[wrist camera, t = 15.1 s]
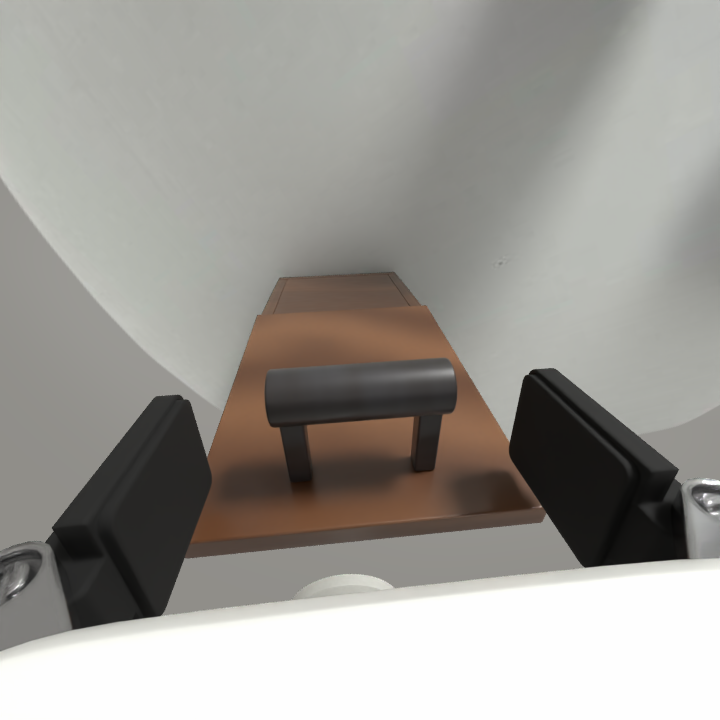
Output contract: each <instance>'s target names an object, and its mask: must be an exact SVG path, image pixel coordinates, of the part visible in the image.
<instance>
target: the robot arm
mask: <svg viewBox="0 0 720 720" xmlns="http://www.w3.org/2000/svg"><path fill="white" fill-rule="evenodd" d="M509 455H510V458H511V460H512V462H513V463H514V465H515V466H516V468H517V469H518V471H519V472H520V474H521V475H522V477H523V478H524V480H525V481H526V483H527V484H528V486H529V487H530V489H531V490H532V492H533V493H534V495H535V496H536V498H537V499H538V501H539V502H540V504H541V505H542V507H543V508H544V510H545V511H546V513H547V514H548V516H549V517H550V519H551V520H552V522H553V523H554V525H555V526H556V528H557V529H558V531H559V532H560V534H561V535H562V537H563V538H564V540H565V541H566V543H567V544H568V546H569V547H570V549H571V550H572V552H573V553H574V554H575V556H576V558H577V559H578V561H579V562H580V563H581V564H582V566H584V567H585V568H580V569H571V570H561V571H551V572H542V573H533V574H524V575H523V574H522V575H513V576H504V577H494V578H485V579H475V580H467V581H457V582H449V583H439V584H430V585H421V586H412V587H403V588H394V589H385V590H376V591H367V592H358V593H349V594H340V595H331V596H323V597H314V598H306V599H297V600H288V601H280V602H271V603H263V604H254V605H246V606H237V607H228V608H221V609H211V610H203V611H196V612H188V613H181V614H173V615H166V616H161V615H162V614H163V612H164V610H165V608H166V606H167V603H168V601H169V598H170V595H171V592H172V590H173V587H174V585H175V582H176V579H177V577H178V574H179V571H180V568H181V566H182V563H183V560H184V558H185V555H186V552H187V550H188V547H189V544H190V542H191V539H192V536H193V534H194V531H195V528H196V526H197V523H198V520H199V518H200V515H201V512H202V509H203V507H204V504H205V501H206V499H207V496H208V493H209V491H210V488H211V484H212V474H211V470H210V467H209V463H208V460H207V457H206V453H205V450H204V447H203V443H202V440H201V437H200V434H199V430H198V427H197V423H196V420H195V417H194V413H193V410H192V407H191V404H190V402H189V400H183V398H182V396H180V395H170V396H169V395H168V396H157V397H155V398H154V399H153V400H152V402H151V403H150V404H149V405H148V406H147V408H146V409H145V410H144V411H143V413H142V414H141V415H140V417H139V418H138V419H137V420H136V422H135V423H134V424H133V425H132V427H131V428H130V429H129V430H128V432H127V433H126V434H125V436H124V437H123V438H122V439H121V441H120V442H119V443H118V444H117V446H116V447H115V448H114V450H113V451H112V452H111V453H110V455H109V456H108V457H107V458H106V460H105V461H104V462H103V463H102V465H101V466H100V467H99V469H98V470H97V471H96V472H95V474H94V475H93V476H92V477H91V479H90V480H89V481H88V483H87V484H86V485H85V486H84V488H83V489H82V490H81V491H80V493H79V494H78V495H77V497H76V498H75V499H74V500H73V502H72V503H71V504H70V505H69V507H68V508H67V509H66V510H65V512H64V513H63V514H62V516H61V517H60V518H59V519H58V521H57V522H56V523H55V524H54V526H53V527H52V529H53V531H54V532H53V533H52V534H51V536H50V537H49V538H48V539H47V541H46V542H45V543H44V542H41V541H32V542H25V543H21V544H17V545H14V546H11V547H9V548H6V549H4V550H2V551H0V720H720V481H716V480H712V479H706V478H694V479H688V480H687V481H686V482H684V483H683V484H682V485H681V484H680V483H679V482H678V481H677V480H675V479H674V478H675V476H676V474H677V472H678V470H679V469H678V468H677V467H675V466H674V465H673V464H672V463H670V462H669V461H668V460H667V459H665V458H664V457H663V456H662V455H661V454H659V453H658V452H657V451H656V450H655V449H653V448H652V447H651V446H650V445H648V444H647V443H646V442H645V441H643V440H642V439H641V438H640V437H639V436H637V435H636V434H635V433H634V432H632V431H631V430H630V429H629V428H627V427H626V426H625V425H624V424H623V423H621V422H620V421H619V420H618V419H616V418H615V417H614V416H613V415H612V414H610V413H609V412H608V411H607V410H605V409H604V408H603V407H602V406H600V405H599V404H598V403H597V402H596V401H594V400H593V399H592V398H591V397H589V396H588V395H587V394H586V393H584V392H583V391H582V390H581V389H580V388H578V387H577V386H576V385H575V384H573V383H572V382H571V381H570V380H568V379H567V378H566V377H565V376H564V375H562V374H561V373H560V372H559V371H557V370H556V369H554V368H548V369H534V370H532V371H530V373H529V375H526V376H525V377H524V379H523V383H522V388H521V392H520V397H519V402H518V407H517V411H516V416H515V421H514V425H513V430H512V435H511V440H510V444H509Z"/></svg>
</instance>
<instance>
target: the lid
mask: <svg viewBox="0 0 720 720" xmlns="http://www.w3.org/2000/svg"><path fill="white" fill-rule="evenodd" d="M509 444H510V442H509V441H508V439H507V438H506V436H505V434H504V433H503V431H502V429H501V428H500V426H499V424H498V423H497V421H496V419H495V418H494V416H493V414H492V413H491V411H490V410H489V408H488V406H487V405H486V403H485V401H484V400H483V398H482V396H481V395H480V393H479V391H478V390H477V388H476V386H475V385H474V383H473V382H472V380H471V378H470V377H469V375H468V373H467V372H466V370H465V368H464V367H463V365H462V363H461V362H460V360H459V358H458V357H457V355H456V354H455V352H454V350H453V349H452V347H451V345H450V344H449V342H448V340H447V339H446V337H445V335H444V334H443V332H442V330H441V329H440V327H439V326H438V324H437V322H436V321H435V319H434V317H433V316H432V314H431V312H430V311H429V309H428V307H427V306H426V305H423V306H406V307H388V308H371V309H353V310H336V311H319V312H301V313H284V314H266V315H257V317H256V320H255V323H254V326H253V329H252V332H251V335H250V337H249V340H248V343H247V346H246V349H245V352H244V354H243V357H242V360H241V363H240V366H239V369H238V372H237V374H236V377H235V380H234V383H233V386H232V389H231V392H230V394H229V397H228V400H227V403H226V406H225V409H224V411H223V414H222V417H221V420H220V423H219V426H218V429H217V432H216V434H215V437H214V440H213V443H212V446H211V449H210V451H209V454H208V457H207V460H208V463H209V467H210V470H211V474H212V484H211V488H210V491H209V493H208V496H207V499H206V501H205V504H204V507H203V509H202V512H201V515H200V518H199V520H198V523H197V526H196V528H195V531H194V534H193V536H192V539H191V542H190V544H189V547H188V550H187V552H186V555H185V558H197V557H207V556H217V555H226V554H236V553H246V552H256V551H266V550H275V549H286V548H295V547H305V546H315V545H324V544H335V543H344V542H355V541H364V540H373V539H384V538H394V537H404V536H414V535H424V534H433V533H443V532H453V531H462V530H472V529H482V528H493V527H502V526H512V525H522V524H532V523H541V522H542V521H543V519H544V517H545V515H546V511H545V510H544V508H543V507H542V505H541V504H540V502H539V501H538V499H537V498H536V496H535V495H534V493H533V492H532V490H531V489H530V487H529V486H528V484H527V483H526V481H525V480H524V478H523V477H522V475H521V474H520V472H519V471H518V469H517V468H516V466H515V465H514V463H513V462H512V460H511V458H510V455H509Z"/></svg>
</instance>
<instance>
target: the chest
mask: <svg viewBox="0 0 720 720" xmlns="http://www.w3.org/2000/svg"><path fill="white" fill-rule="evenodd" d="M406 306H421V304H420V303H419V302H418V301H417V299H416V298H415V297H414V296H413V294H412V293H411V292H410V291H409V289H408V288H407V287H406V286H405V284H404V283H403V282H402V281H401V279H400V278H399V277H398V276H397V274H396V273H395V272H387V273H367V274H348V275H328V276H308V277H289V278H279V280H278V282H277V284H276V286H275V288H274V290H273V292H272V294H271V296H270V298H269V300H268V302H267V304H266V306H265V308H264V310H263V313H262V315H266V314H284V313H301V312H319V311H336V310H353V309H371V308H388V307H406Z"/></svg>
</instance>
